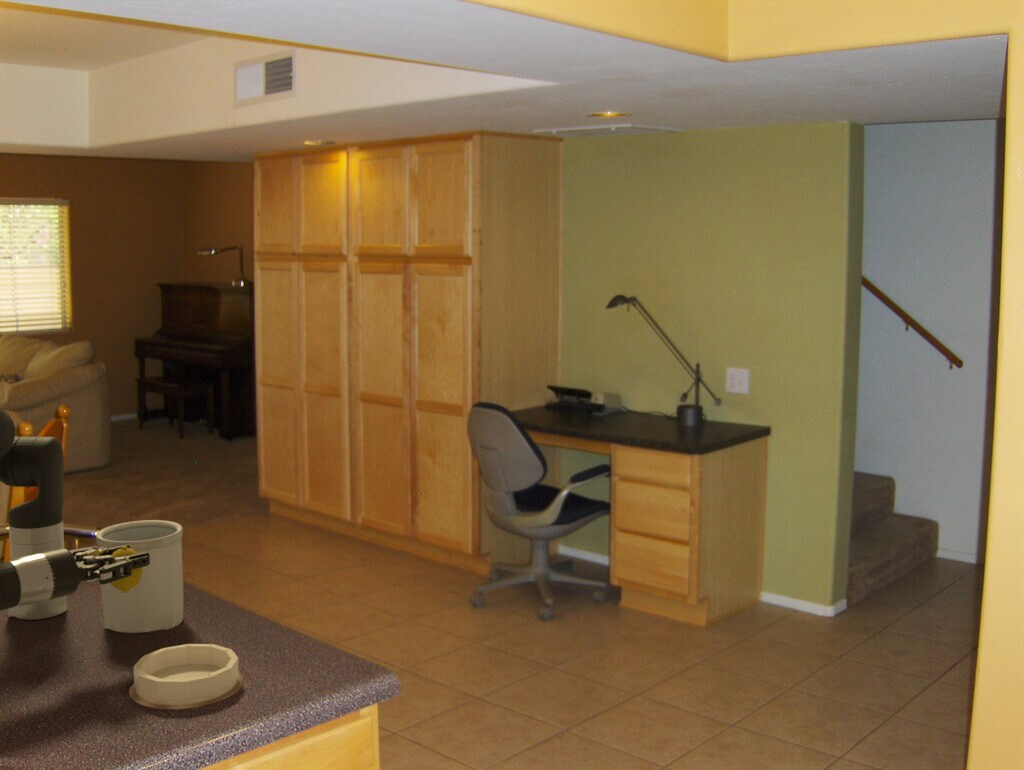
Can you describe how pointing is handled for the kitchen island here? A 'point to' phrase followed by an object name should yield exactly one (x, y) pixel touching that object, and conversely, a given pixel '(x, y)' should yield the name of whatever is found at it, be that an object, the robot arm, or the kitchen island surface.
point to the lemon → (129, 581)
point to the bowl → (186, 674)
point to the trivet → (134, 697)
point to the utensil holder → (146, 577)
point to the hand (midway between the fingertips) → (138, 554)
